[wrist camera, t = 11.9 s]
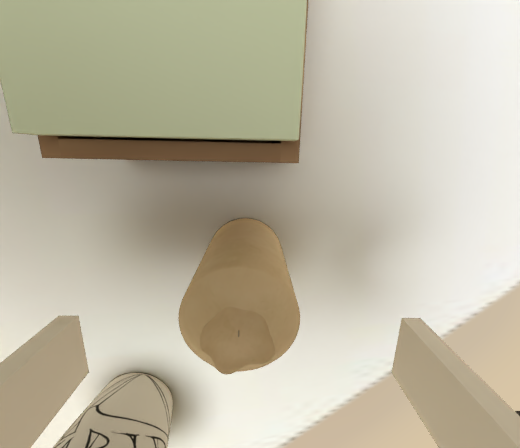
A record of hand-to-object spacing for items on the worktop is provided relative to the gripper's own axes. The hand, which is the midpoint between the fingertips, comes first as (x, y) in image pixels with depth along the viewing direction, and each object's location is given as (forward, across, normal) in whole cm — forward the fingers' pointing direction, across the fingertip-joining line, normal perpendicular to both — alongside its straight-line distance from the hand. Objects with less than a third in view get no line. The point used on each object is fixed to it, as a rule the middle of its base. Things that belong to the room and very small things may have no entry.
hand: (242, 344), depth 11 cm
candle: (+10, 0, 0) cm, 10 cm away
